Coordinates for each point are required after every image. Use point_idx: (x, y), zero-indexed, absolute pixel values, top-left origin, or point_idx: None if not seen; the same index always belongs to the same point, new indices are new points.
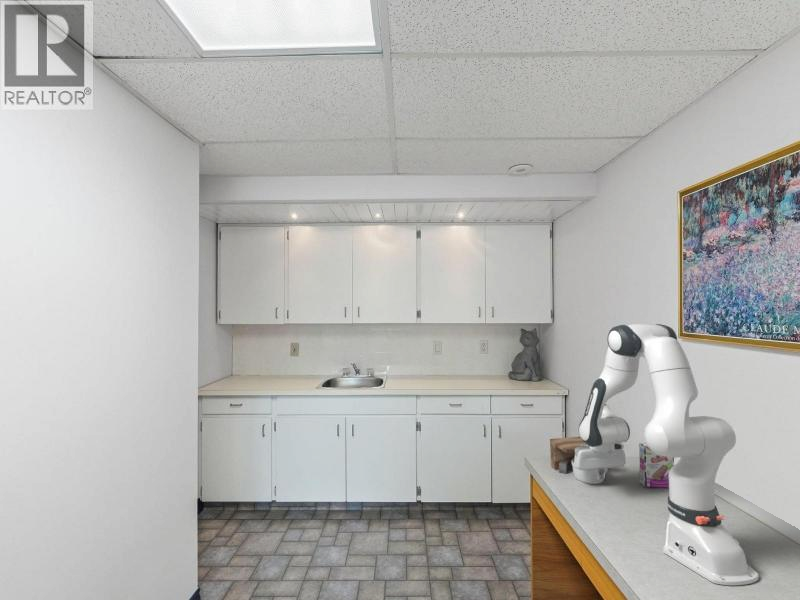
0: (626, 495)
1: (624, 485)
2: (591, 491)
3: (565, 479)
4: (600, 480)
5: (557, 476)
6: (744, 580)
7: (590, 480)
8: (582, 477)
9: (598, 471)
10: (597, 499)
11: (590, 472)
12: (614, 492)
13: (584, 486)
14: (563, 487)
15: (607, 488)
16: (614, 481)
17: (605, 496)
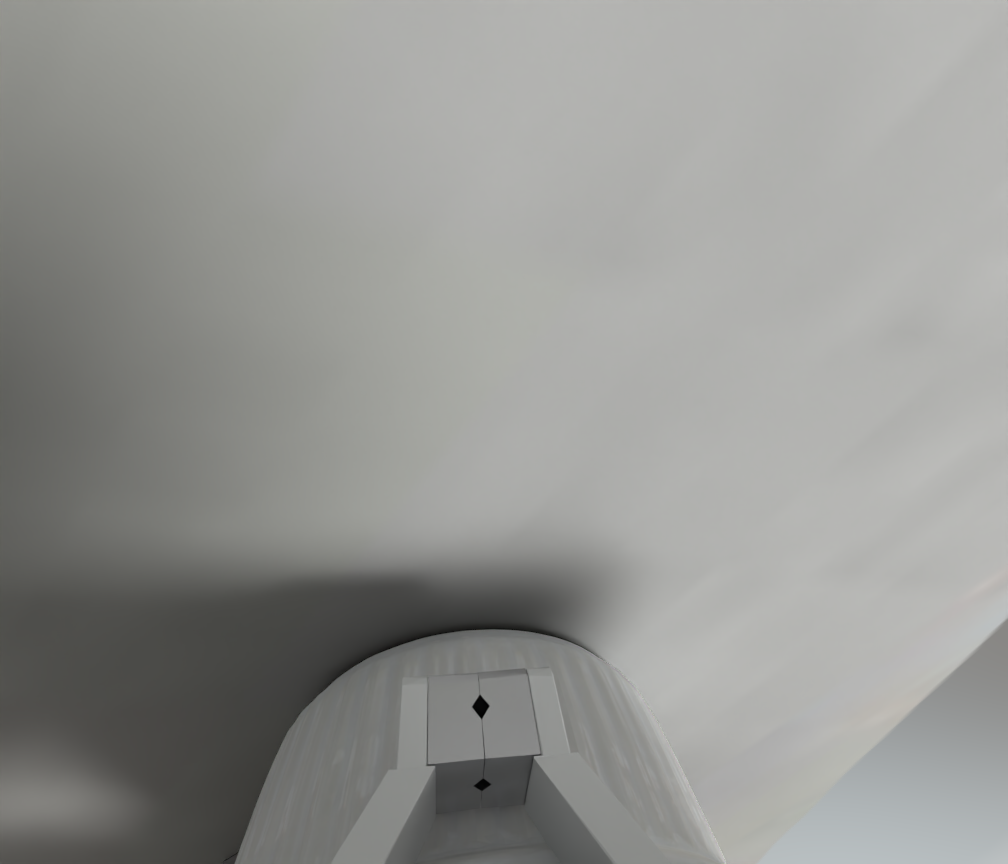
0: (173, 182)
1: (35, 558)
2: (718, 462)
3: (728, 723)
4: (423, 669)
5: (743, 765)
6: None
7: (583, 673)
8: (659, 730)
9: (490, 851)
10: (903, 169)
11: (636, 820)
12: (370, 366)
13: (679, 591)
14: (926, 594)
15: (402, 508)
16: (159, 665)
17: (656, 252)
